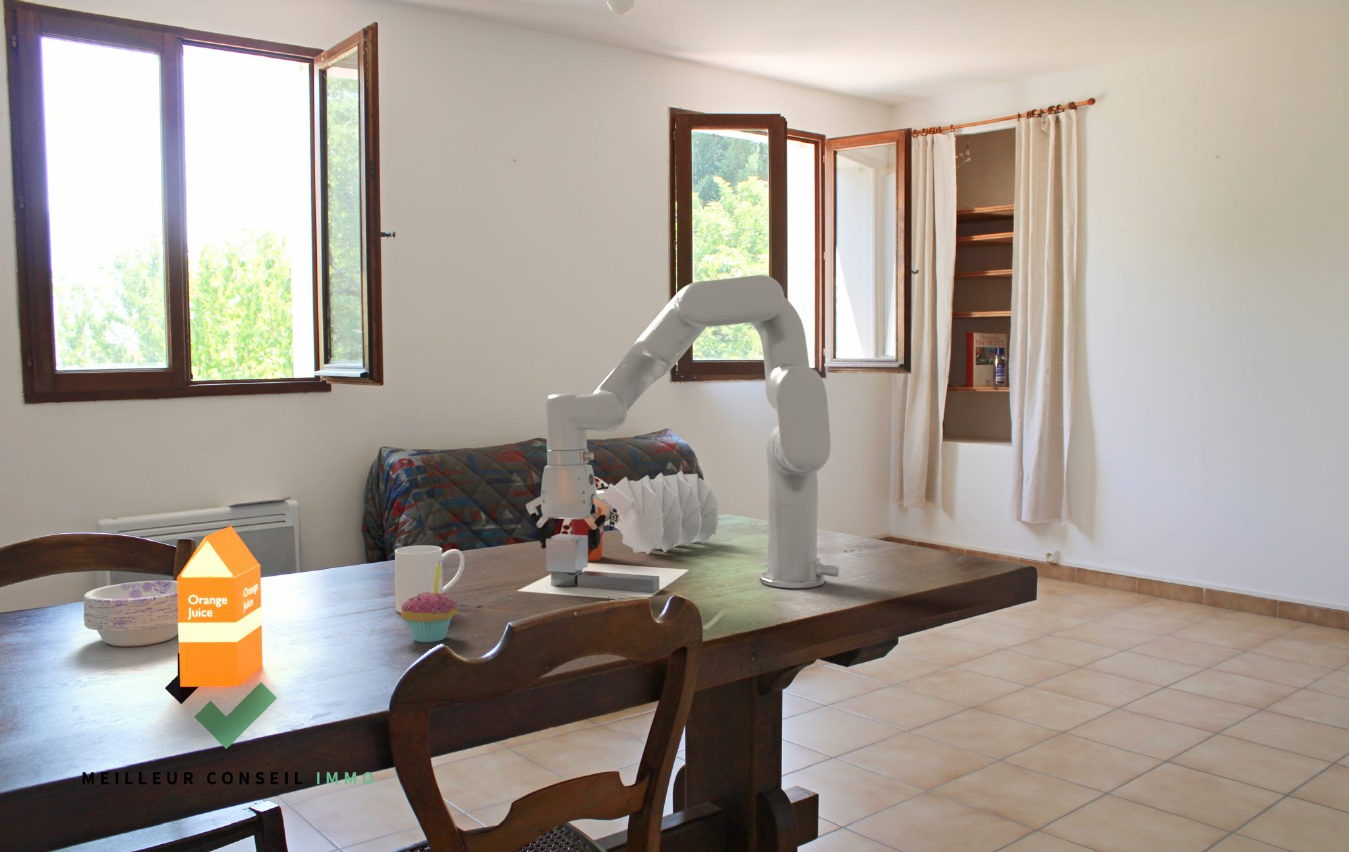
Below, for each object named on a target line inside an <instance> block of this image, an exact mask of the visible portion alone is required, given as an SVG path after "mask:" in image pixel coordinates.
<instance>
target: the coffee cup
mask: <svg viewBox="0 0 1349 852" xmlns="http://www.w3.org/2000/svg"><path fill="white" fill-rule="evenodd" d="M596 492H597V497H598V498H600V499H602V500H603V501H605V499H606V496H605V495H606V492H605V490H601V489H600V490H599V489H596ZM605 502H606V501H605ZM601 513H602V509H601V508H599V507H598V511H597V513H596V514H595V515H596V516H597V517H599V516H600V515H601ZM570 523H571V524H570V527H571V528H570V529H571V535H586V536H588V530H589V529H590V526H589V525H588V523H587V522H586V521H585V520H584V519H570ZM604 525H605V522H604V523H603V524H602V526H601V527H599V529H600V544H599V545H598V548H597V549H595V550H593V551H592V550H589V548H588V562H592V561H598V560H600V559H603V558H602V556H603V541H604Z"/></svg>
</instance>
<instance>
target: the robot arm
mask: <svg viewBox="0 0 1349 852" xmlns="http://www.w3.org/2000/svg"><path fill="white" fill-rule="evenodd" d="M782 287H783V286H782V285H781V284H780V283H779V282H778V280H776V279H774V278H773V277H772V276H769V275H766V274H757V275H756V274H754V275H748V276H740V277H739V276H737V277H731V278H730V277H729V278H722V279H713V280H712V279H711V280H701V281H694V282H691V283H688V284H687V285H685V286H683V287H682V288H681V289H680V290H679V291H678V292H677V293H676V294H675V295H674V296H673V297H672V298H671V300H670V301H669V302H668V303H667V304H666V305H665V306H664V308H663V309H662V310H661V312H660V313H659V314H658V315H657V316H656V317H655V318H654V320H653V321H652V322H651V323H650V324H649V326H647V328H645V330H644V331H643V333H641V335H640V336H639V337H638V338H637V339H636V341H635V342H634V343H633V344H632V345H631V346H630V348H629V349H628V351H627V352H626V354H625V355H624V357H623V358H622V359H621V360H620V362H619V363H618V364H617V365H616V366H615V368H614V369H612V371H610V373H609V374H608V375H607V377H606V378H605V379H604V380H603V381H602V382H601V383H600V384H599V386H598V387H597V388H596V389H595V390H594V392H593V393H591V394H590V393H589V394H581V393H574V392H573V393H572V392H569V393H568V392H567V393H566V392H565V393H564V392H563V393H562V392H561V393H553V394H550V395H548V396H547V397H546V399H545V425H546V426H545V428H546V430H545V431H546V433H545V434H546V459H547V463H546V464H547V465H545V466H544V468H543V473H542V478H541V479H542V480H541V488H540V489H541V491H540V496H538V497H536V498H534V499H533V500H531V501H529V502H527V503H526V504H525V508H526V511H527V512H528V514H529V516H530V518H531V519H532V521H533V522H534V523H535V524H536V527H537V528H538V529H539V530H538V531H539V543H540V544H541V545H540V546H541V549H542V550H544V549H545V550H546V539H547V538H550V537H552V526H551V524H549V523H550V522H551V521H552V519H560V520H562V519H563V520H565V519H566V520H571V519H584V520H585V521H586V522H587V523H588V525H589V526H590V529H589V530H588V548H589V550H592V551H593V550H595V549H597V548H598V545H599V544H600V529H599V527H601V526H602V524H603V523H604V524H605V522H606V521H607V520H608V519H609V515H610V514H611V512H612V509H613V507H612V505H611V504H609V503H608V502H606V501H603V500H602V499H600V498H598V497H597V492H596V490H597V486H596V479H595V474H594V469H593V466H592V465H591V464H588V463H589V461H593V460H594V458H595V457H594V456H595V454H594V452H590V451H589V449H588V441H587V439H588V438H587V436H588V435H587V431H595V432H603V433H604V432H605V433H608V432H613V431H617V430H618V429H620V428H621V427H622V426H623V425H624V423H625V422H626V420H627V416H628V411H629V410H630V409H631V408H632V407H633V405H634V404H635V403H636V401H638V399H639V398H640V397H641V396H642V395H643V394H644V393H645V392H646V391H647V389H649V388H650V387H651V386H652V385H653V384H654V383H656V382H657V380H659V379H661V378H662V377H664V376H665V375H666V374H668V372H669V371H671V370H672V369H673V368H674V366H675V365H676V364H677V363H678V361H679V360H680V359H681V358H682V357H683V356H684V354H686V352H687V351H688V350H689V349H690V347H691V346H692V345H693V344H694V343H695V342H696V340H697V339H698V338H699V337H700V336H701V335H702V333H704V331H705V330H706V329H707V328H710V327H711V328H712V327H723V326H732V325H739V324H740V325H741V324H748V323H749V324H750V325H752V327H754V329H755V330H756V332H757V333H758V335H759V339H760V342H761V348H762V354H763V365H764V378H765V395H766V399H767V402H768V404H770V406H771V407H772V408H773V409H774V410H776V412H777V425H776V426H774V428H773V429H772V430H771V431H770V433H769V435H768V439H767V442H766V462H767V464H766V465H767V474H768V475H767V476H768V502H767V503H768V504H767V505H768V508H767V510H768V511H767V512H768V513H767V514H768V515H767V520H768V522H767V524H768V525H767V526H768V527H767V532H768V533H767V571H763V572H762V573H760V574H759V581H760V582H761V583H762V584H764V585H766V586H771V587H776V588H781V589H782V588H784V589H809V588H816V587H819V586H822V585H824V583H825V582H826V581H825V576H828V577H835V578H836V577H837V578H839V577H840V566H835V565H834V564H833V565H832V564H823V563H821V557H818V507H819V506H818V504H819V490H818V489H819V487H818V486H819V485H818V471H820V470H821V469H822V468H823V467H824V466H825V465H826V464H827V462H828V460H829V457H830V454H831V447H832V446H831V445H832V443H831V431H830V430H831V428H830V427H831V426H830V416H829V407H828V406H829V404H828V395H827V393H828V392H827V390H826V386H825V383H824V381H823V378H822V377H821V375H820V373H818V371H816V370H815V369H813V368H812V367H811V366H810V361H809V352H808V346H807V339H806V333H805V328H804V324H803V322H802V319H801V317H800V314H799V313H798V311H797V310H796V308H795V307H794V306H793V304H792V303H791V302H790V301H789V300H788V299H787V298H786V297H785V293H784V290H783V288H782ZM539 505H540V510H541V512H539V511H538V509H537V507H538V506H539ZM598 507H599V508H601V509H602V513H601V515H600V516H599V517H597V516H596V515H595V514H596V513H597V511H598ZM541 514H542V515H541Z"/></svg>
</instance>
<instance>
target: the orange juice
mask: <svg viewBox="0 0 1349 852" xmlns="http://www.w3.org/2000/svg"><path fill="white" fill-rule="evenodd" d="M176 581H177V584H178V619H179V623H178V635H177V636H178V644H179V645H178V646H179V647H178V652H179V654H178V655H179V681H180V682H179V683H180V688H181V687H182V688H183V687H184V688H185V687H186V688H187V687H190V688H191V687H193V688H194V687H204V688H205V687H239V686H240V685H241V684H243V683H244V682H245V681H247V680H248V678H250V677H251V676H253V674H255V673H256V672H258V671H259V670H260V669H261V668H262V667H263V664H264V663H263V631H262V630H263V627H262V626H263V617H262V615H263V613H262V612H263V608H262V607H263V606H262V585H261V564H260V563H259V562H258V561H257V559H256V558H255V556H254V555H253V554H252V553H251V551H250V550H249V548H248V547H247V545H245V543H244V541H243V540H242V539H241V538H240V536H239V535H238V534H237V532H236V531H235V528H233V525H230V526H227V527H226V528H223V529H221V530H218V531H216V532H213V533H211V534H209V535H206V536H204V538H203V539H202V541H201V542H200V544H199V545H198V547H197V548H196V550H195V551H194V552H193V554H192V556H191V557H190V559H189V560H188V562H187V563H186V565H184V567H183V569H182V570H181V572H180V573H179V574H178V575H177V577H176Z"/></svg>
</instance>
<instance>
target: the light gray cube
mask: <svg viewBox="0 0 1349 852" xmlns="http://www.w3.org/2000/svg"><path fill="white" fill-rule="evenodd" d="M588 563H589V561H588V536H586V535H572V534H570V533H569V534H567V533H558V534H555V535H551V537H550V538H547V539H546V548H545V570H546V572H551V571H558V572H572V573H576V572H578V571H580V570H582V569H584V568H586V567H588Z"/></svg>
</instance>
